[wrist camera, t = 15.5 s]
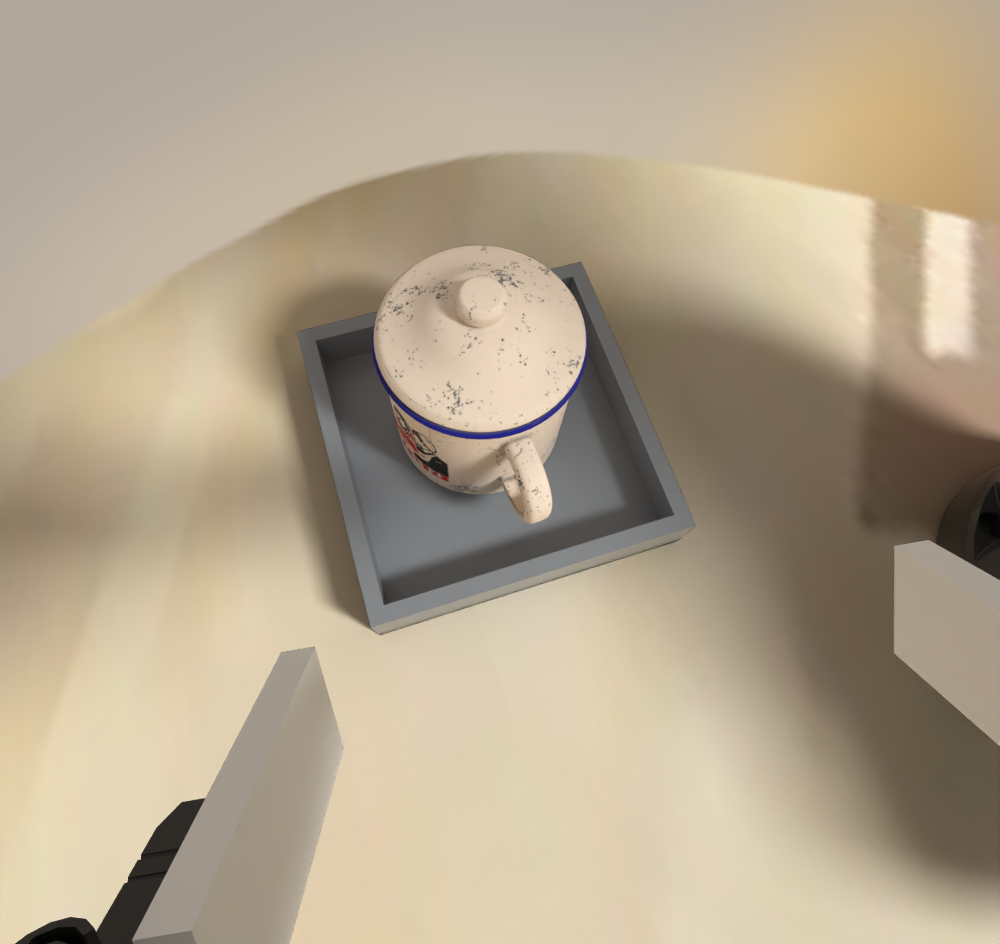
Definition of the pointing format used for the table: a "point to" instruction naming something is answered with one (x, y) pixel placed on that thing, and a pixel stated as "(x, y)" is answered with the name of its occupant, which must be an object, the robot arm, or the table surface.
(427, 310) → the teacup with lid
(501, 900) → the table surface
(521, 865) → the table surface
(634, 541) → the tray
